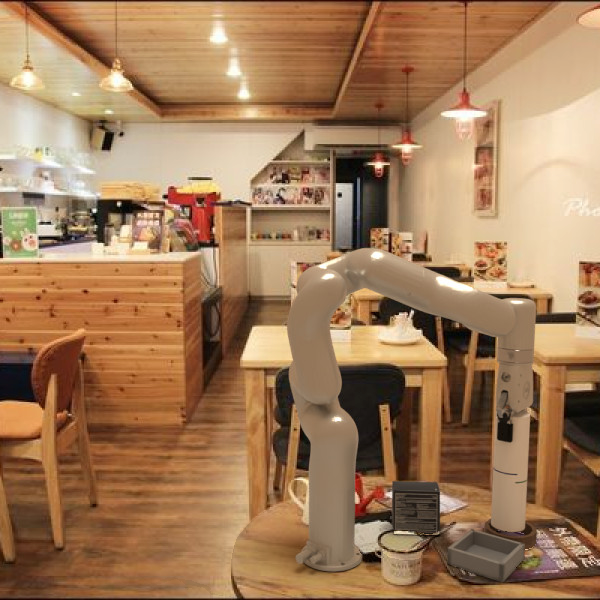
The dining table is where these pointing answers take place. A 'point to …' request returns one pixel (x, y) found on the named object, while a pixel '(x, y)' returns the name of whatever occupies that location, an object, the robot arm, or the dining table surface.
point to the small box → (416, 506)
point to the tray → (486, 555)
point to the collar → (527, 539)
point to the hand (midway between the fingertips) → (511, 436)
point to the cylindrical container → (511, 476)
